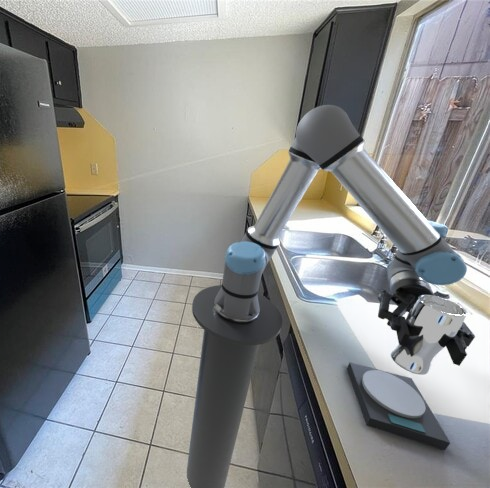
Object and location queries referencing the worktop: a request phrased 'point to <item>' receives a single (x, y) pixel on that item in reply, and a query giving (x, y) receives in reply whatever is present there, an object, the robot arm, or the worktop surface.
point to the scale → (395, 405)
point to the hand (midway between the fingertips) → (431, 349)
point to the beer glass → (428, 332)
